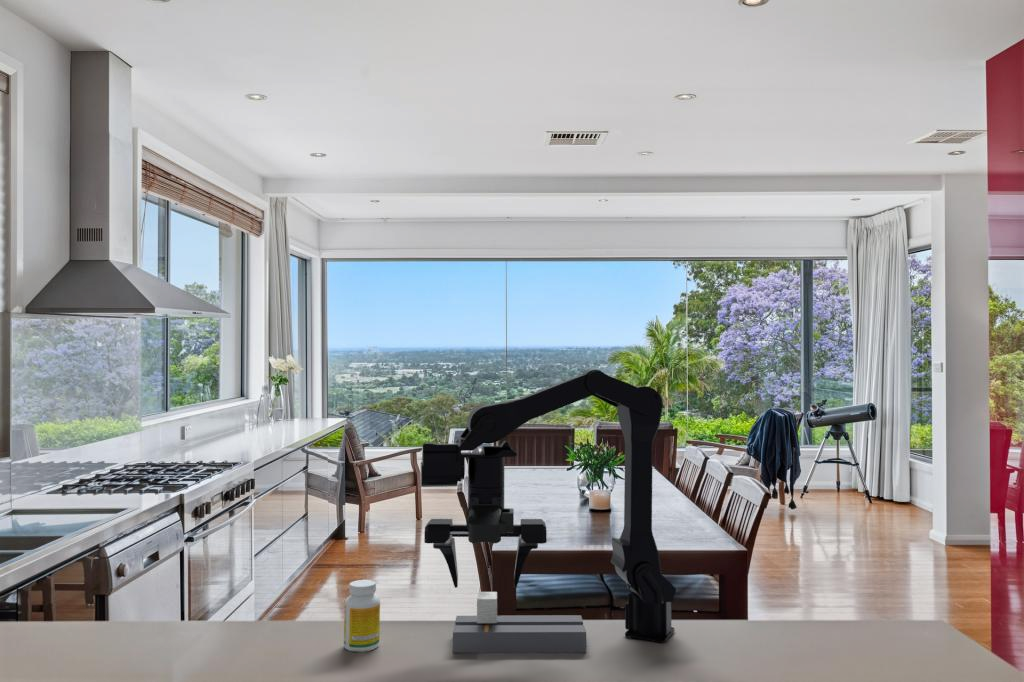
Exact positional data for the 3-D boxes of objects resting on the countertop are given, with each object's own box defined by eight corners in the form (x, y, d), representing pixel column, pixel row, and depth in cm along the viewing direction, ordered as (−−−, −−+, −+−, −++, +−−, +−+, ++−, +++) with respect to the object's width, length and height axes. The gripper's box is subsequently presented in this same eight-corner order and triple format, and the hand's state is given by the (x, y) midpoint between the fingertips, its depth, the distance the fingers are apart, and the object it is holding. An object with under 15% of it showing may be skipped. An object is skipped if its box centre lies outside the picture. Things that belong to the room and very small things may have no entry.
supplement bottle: (336, 646, 114) (337, 583, 115) (365, 638, 118) (366, 576, 118) (357, 655, 110) (358, 589, 111) (386, 646, 114) (387, 582, 115)
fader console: (581, 634, 119) (581, 614, 120) (586, 652, 111) (586, 631, 112) (456, 634, 119) (456, 614, 120) (452, 652, 111) (452, 631, 112)
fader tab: (497, 627, 118) (497, 591, 118) (496, 635, 114) (496, 599, 114) (478, 627, 117) (478, 591, 118) (476, 635, 114) (477, 599, 114)
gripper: (420, 493, 109) (419, 602, 108) (548, 493, 109) (548, 602, 108) (428, 483, 120) (427, 581, 119) (544, 483, 120) (544, 581, 119)
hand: (485, 587), depth 116 cm, fingers open, 9 cm apart
